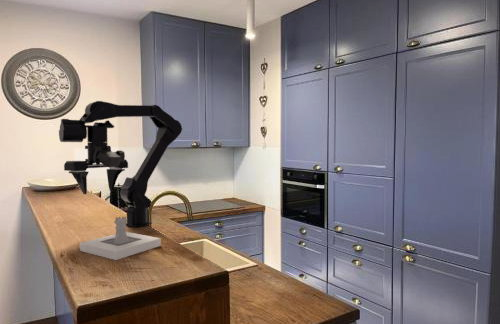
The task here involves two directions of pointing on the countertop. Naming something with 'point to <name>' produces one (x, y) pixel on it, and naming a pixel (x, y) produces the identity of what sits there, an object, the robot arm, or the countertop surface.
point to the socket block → (120, 246)
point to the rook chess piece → (120, 231)
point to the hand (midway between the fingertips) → (98, 192)
